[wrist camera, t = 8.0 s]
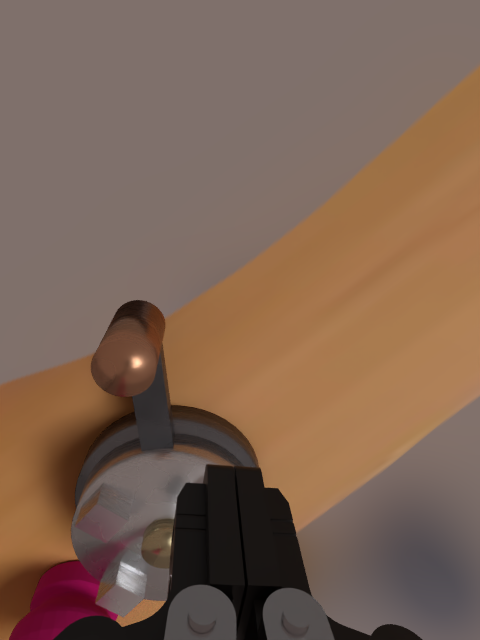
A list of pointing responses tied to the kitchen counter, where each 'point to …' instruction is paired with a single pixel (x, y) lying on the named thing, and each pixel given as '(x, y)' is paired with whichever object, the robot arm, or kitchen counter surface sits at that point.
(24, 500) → the kitchen counter surface
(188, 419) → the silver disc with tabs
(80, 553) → the crank handle
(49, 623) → the pepper mill
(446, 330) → the kitchen counter surface
